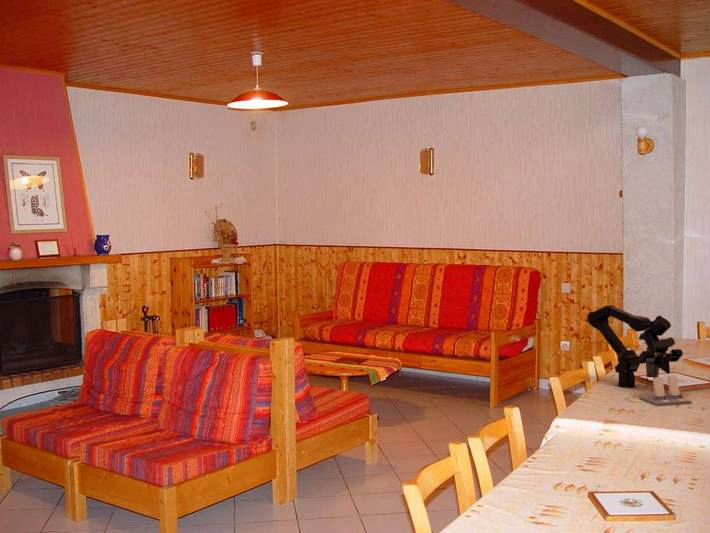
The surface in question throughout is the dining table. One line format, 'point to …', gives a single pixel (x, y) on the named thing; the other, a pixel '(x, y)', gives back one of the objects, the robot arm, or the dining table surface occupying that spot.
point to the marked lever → (673, 386)
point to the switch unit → (665, 400)
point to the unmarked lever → (658, 387)
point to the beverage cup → (651, 369)
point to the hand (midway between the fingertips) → (668, 372)
